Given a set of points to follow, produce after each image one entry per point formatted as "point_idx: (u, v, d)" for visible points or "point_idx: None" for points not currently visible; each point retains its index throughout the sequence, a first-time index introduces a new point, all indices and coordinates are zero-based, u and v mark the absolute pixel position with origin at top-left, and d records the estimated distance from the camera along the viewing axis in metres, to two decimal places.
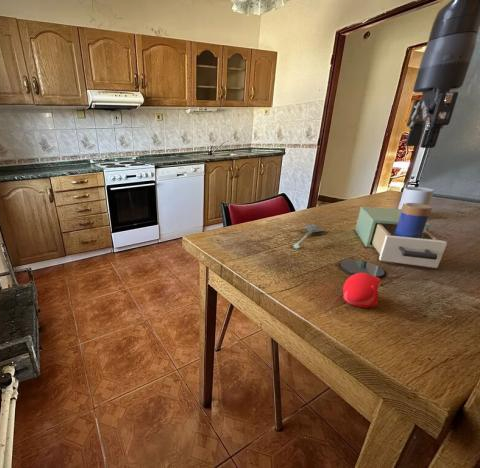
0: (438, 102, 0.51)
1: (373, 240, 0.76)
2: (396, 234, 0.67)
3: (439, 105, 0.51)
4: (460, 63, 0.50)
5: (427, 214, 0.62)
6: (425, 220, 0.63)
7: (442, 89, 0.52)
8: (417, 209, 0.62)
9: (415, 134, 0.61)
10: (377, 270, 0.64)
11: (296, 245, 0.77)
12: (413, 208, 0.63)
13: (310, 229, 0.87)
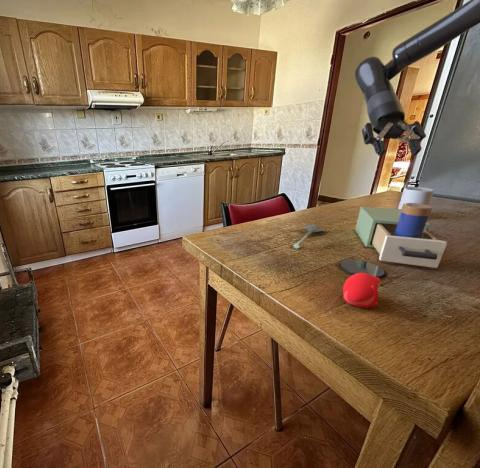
0: None
1: (373, 240, 0.76)
2: (396, 234, 0.67)
3: (363, 134, 0.76)
4: (374, 109, 0.76)
5: (427, 214, 0.62)
6: (425, 220, 0.63)
7: (374, 124, 0.76)
8: (417, 209, 0.62)
9: (412, 145, 0.71)
10: (377, 270, 0.64)
11: (296, 245, 0.77)
12: (413, 208, 0.63)
13: (310, 229, 0.87)
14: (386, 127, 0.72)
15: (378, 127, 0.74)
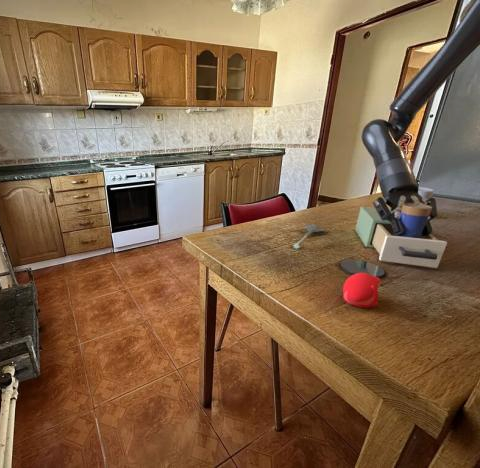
0: None
1: (373, 240, 0.76)
2: None
3: (376, 208, 0.70)
4: (385, 178, 0.71)
5: (427, 214, 0.62)
6: (425, 220, 0.63)
7: (385, 194, 0.70)
8: (417, 209, 0.62)
9: None
10: (377, 270, 0.64)
11: (296, 245, 0.77)
12: (413, 208, 0.63)
13: (310, 229, 0.87)
14: (400, 202, 0.67)
15: (390, 200, 0.68)
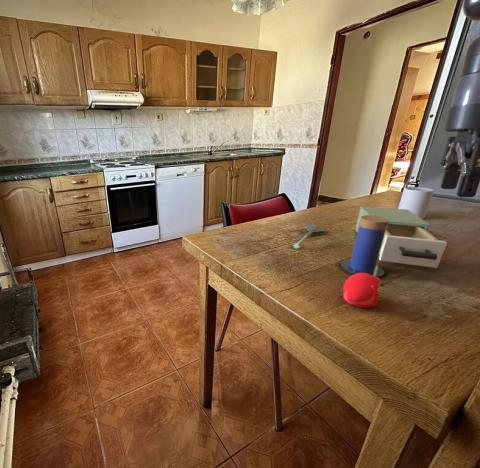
0: (475, 148, 0.43)
1: None
2: (354, 248, 0.64)
3: (477, 151, 0.43)
4: None
5: (384, 228, 0.59)
6: (382, 234, 0.59)
7: None
8: (373, 223, 0.59)
9: (451, 176, 0.53)
10: (377, 270, 0.64)
11: (296, 245, 0.77)
12: (369, 222, 0.59)
13: (310, 229, 0.87)
14: None
15: None
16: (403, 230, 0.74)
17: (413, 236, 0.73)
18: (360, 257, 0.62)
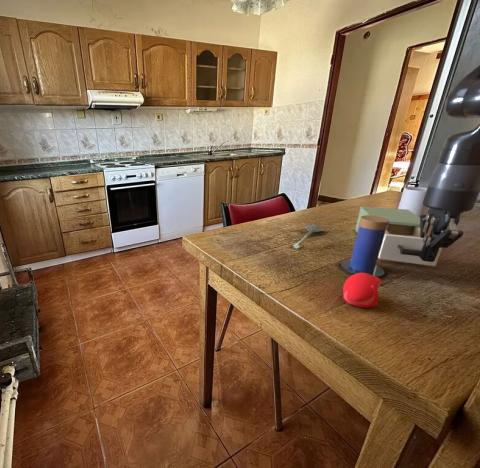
0: (442, 235, 0.53)
1: None
2: (354, 248, 0.64)
3: (441, 239, 0.53)
4: (471, 192, 0.50)
5: (384, 228, 0.59)
6: (382, 234, 0.59)
7: (453, 213, 0.52)
8: (373, 223, 0.59)
9: None
10: (377, 270, 0.64)
11: (296, 245, 0.77)
12: (369, 222, 0.59)
13: (310, 229, 0.87)
14: None
15: (455, 225, 0.52)
16: (402, 229, 0.75)
17: (412, 235, 0.73)
18: (360, 257, 0.62)
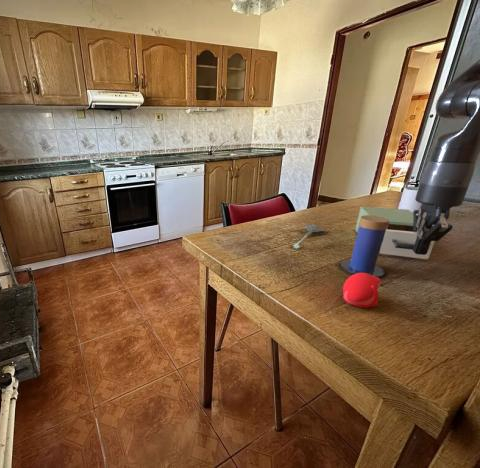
0: (433, 229, 0.56)
1: None
2: (354, 248, 0.64)
3: (432, 232, 0.56)
4: (460, 188, 0.53)
5: (384, 228, 0.59)
6: (382, 234, 0.59)
7: (443, 208, 0.55)
8: (373, 223, 0.59)
9: None
10: (377, 270, 0.64)
11: (296, 245, 0.77)
12: (369, 222, 0.59)
13: (310, 229, 0.87)
14: None
15: (446, 219, 0.56)
16: (397, 225, 0.78)
17: (406, 230, 0.77)
18: (360, 257, 0.62)
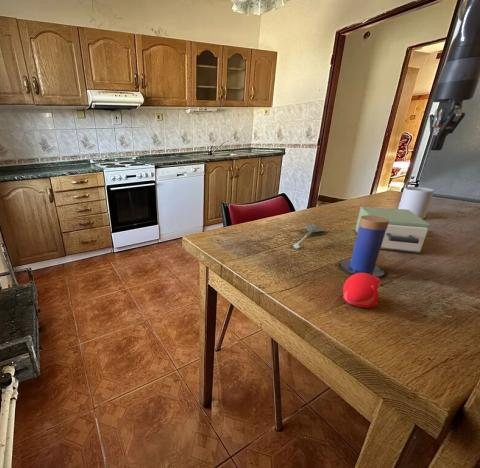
0: (448, 120, 0.66)
1: None
2: (354, 248, 0.64)
3: (447, 123, 0.67)
4: (471, 80, 0.64)
5: (384, 228, 0.59)
6: (382, 234, 0.59)
7: (457, 100, 0.66)
8: (373, 223, 0.59)
9: None
10: (377, 270, 0.64)
11: (296, 245, 0.77)
12: (369, 222, 0.59)
13: (310, 229, 0.87)
14: None
15: None
16: None
17: None
18: (360, 257, 0.62)
